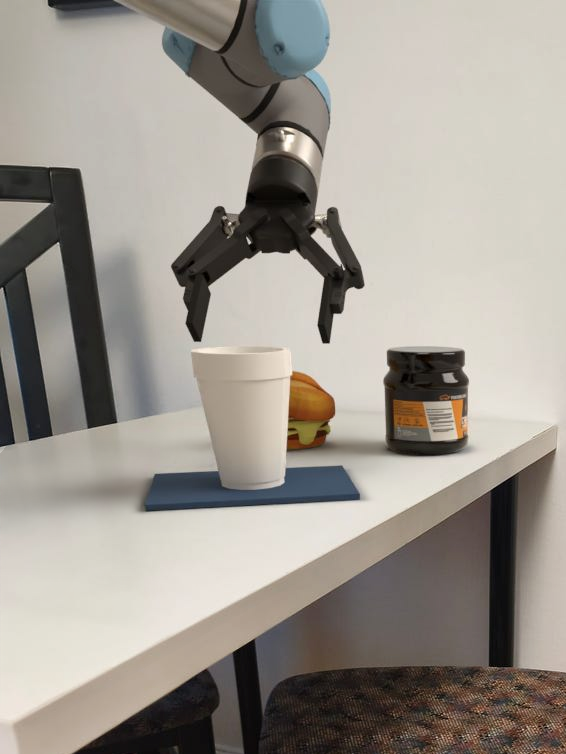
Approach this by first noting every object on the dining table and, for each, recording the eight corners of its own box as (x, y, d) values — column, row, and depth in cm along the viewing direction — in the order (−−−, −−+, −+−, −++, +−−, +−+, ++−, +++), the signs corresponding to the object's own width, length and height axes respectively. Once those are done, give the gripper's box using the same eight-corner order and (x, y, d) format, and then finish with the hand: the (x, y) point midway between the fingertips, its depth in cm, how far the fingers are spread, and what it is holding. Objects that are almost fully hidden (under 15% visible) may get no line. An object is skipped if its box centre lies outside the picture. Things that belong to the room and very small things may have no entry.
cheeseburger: (290, 433, 121) (298, 360, 116) (347, 461, 117) (358, 386, 112) (231, 442, 113) (238, 364, 108) (290, 473, 109) (299, 393, 104)
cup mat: (145, 511, 83) (144, 504, 82) (155, 479, 95) (154, 473, 95) (360, 499, 87) (359, 493, 87) (342, 470, 100) (342, 465, 100)
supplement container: (449, 459, 106) (449, 354, 102) (370, 452, 110) (367, 350, 105) (480, 444, 116) (481, 347, 111) (406, 438, 119) (404, 344, 114)
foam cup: (228, 471, 96) (215, 345, 91) (311, 474, 95) (302, 346, 90) (190, 491, 87) (173, 353, 82) (280, 495, 86) (269, 355, 81)
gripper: (163, 153, 97) (124, 305, 89) (391, 154, 96) (373, 308, 88) (186, 210, 104) (152, 356, 96) (399, 212, 103) (383, 359, 94)
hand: (258, 334), depth 92 cm, fingers open, 13 cm apart
